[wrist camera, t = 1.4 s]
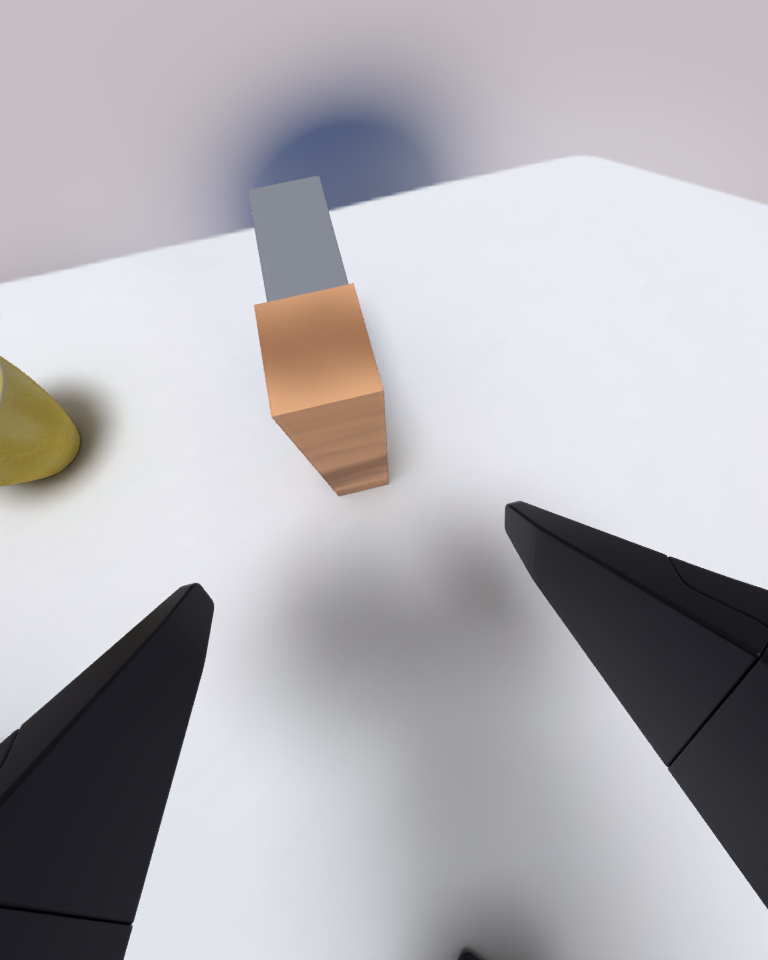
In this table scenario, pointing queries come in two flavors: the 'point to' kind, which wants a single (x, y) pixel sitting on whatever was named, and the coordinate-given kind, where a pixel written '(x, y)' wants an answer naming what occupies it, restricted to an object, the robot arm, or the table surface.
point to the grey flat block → (295, 239)
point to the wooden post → (326, 385)
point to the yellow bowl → (31, 430)
